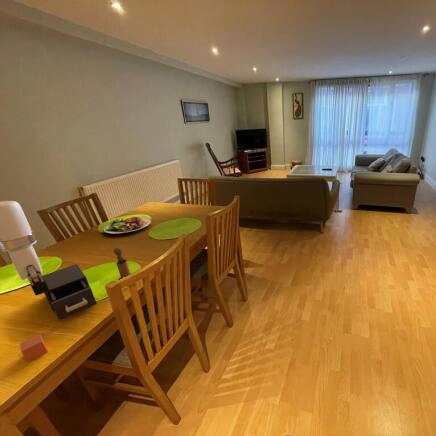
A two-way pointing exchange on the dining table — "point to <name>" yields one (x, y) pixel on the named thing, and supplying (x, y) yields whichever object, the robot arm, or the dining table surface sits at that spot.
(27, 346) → the block
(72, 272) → the dark grey cabinet
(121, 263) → the wooden pepper mill
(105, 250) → the dining table surface
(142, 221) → the plate of food
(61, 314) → the drawer
